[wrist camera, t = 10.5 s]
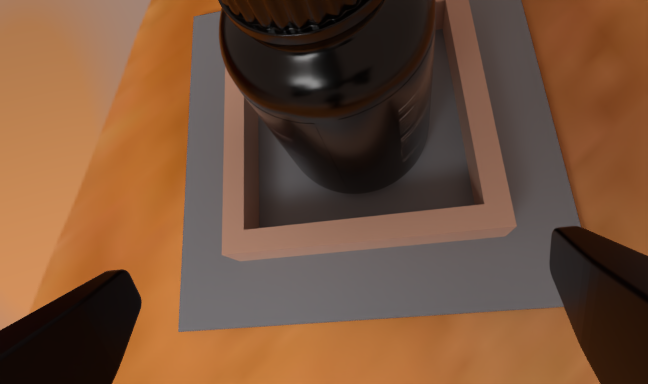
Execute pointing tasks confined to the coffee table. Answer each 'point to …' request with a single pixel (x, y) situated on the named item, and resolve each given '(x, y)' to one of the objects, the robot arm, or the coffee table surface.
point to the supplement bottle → (337, 82)
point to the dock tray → (379, 196)
